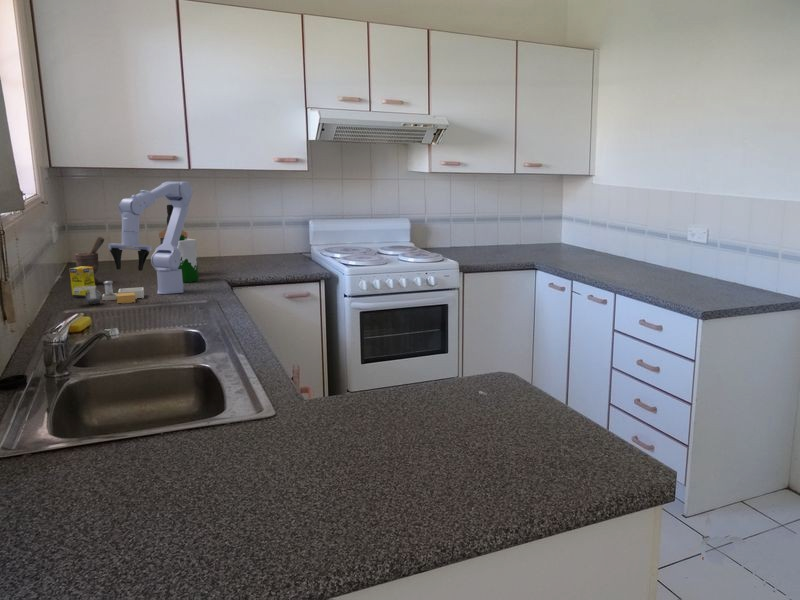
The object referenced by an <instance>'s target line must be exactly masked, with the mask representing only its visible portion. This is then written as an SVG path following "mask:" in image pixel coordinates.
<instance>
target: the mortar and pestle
mask: <svg viewBox="0 0 800 600" xmlns="http://www.w3.org/2000/svg"><path fill="white" fill-rule="evenodd" d="M104 242H105V238H104V237H101V236H98V237H97V238H96V239H95V241H94V244H93V246H92V247H91V250H90V251H88V252H82V251H81V252H77V253H75V254H74V257H75V258H74V259H75V265H76V266H75V267H80V266H85V267H93V271H94V281H95V285H99V284H100V282H99V281H100V280H98V278H96V277H95V274H96V273H97V272H98V270H99V252H97V251H98V250H99V249H100V248H101V247H102V246H103V243H104Z"/></svg>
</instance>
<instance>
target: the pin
mask: <svg viewBox="0 0 800 600" xmlns="http://www.w3.org/2000/svg"><path fill="white" fill-rule="evenodd" d="M102 283H103V285H104V292H105V293H104V294H105V295H106V296H112V295H113V293H114V288H113V283H114V282H113V280H105V281H103V282H102Z"/></svg>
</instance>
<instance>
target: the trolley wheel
mask: <svg viewBox="0 0 800 600" xmlns="http://www.w3.org/2000/svg"><path fill="white" fill-rule="evenodd" d="M83 290H89V292H88V293H87V294H86V297H85V301H86V303H88V304H90V305H92V304H95V305H97V304H99V303H100V302H101V300H102V295H103V294H102V293H101V292H100V291H99V290H97V285H95V286H80V287H75V288H74V291H83Z"/></svg>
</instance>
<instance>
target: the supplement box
mask: <svg viewBox="0 0 800 600" xmlns="http://www.w3.org/2000/svg"><path fill="white" fill-rule="evenodd" d="M69 276H70V287H71V294H72V295H71V296H72V297H73V298H86V294H87V293H88V292H89V290H83V291H74V288H75V287H80V286H96V284H95V281H94V277H95V275H94V271H93V267H85V266H80V267H77V266H75V267H71V268H69Z"/></svg>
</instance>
